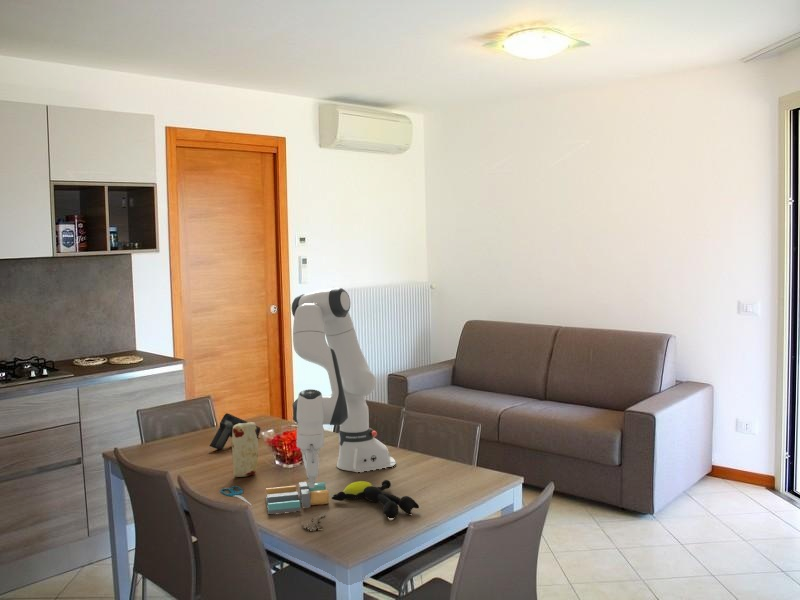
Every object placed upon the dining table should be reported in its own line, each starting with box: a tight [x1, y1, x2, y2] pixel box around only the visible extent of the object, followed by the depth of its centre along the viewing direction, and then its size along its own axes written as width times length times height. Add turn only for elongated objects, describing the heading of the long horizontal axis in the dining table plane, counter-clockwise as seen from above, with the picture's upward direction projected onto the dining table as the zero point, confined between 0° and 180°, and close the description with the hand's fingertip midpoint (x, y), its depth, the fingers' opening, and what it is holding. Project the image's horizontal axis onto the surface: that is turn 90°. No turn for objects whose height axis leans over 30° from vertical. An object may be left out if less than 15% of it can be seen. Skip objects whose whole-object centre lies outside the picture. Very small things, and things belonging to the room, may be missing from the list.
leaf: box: [299, 510, 326, 532], centre depth 216 cm, size 11×15×2 cm
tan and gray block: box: [300, 489, 330, 508], centre depth 231 cm, size 8×4×5 cm, turn 103°
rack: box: [265, 485, 301, 515], centre depth 231 cm, size 10×15×4 cm, turn 14°
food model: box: [231, 421, 259, 478], centre depth 261 cm, size 10×7×20 cm
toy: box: [331, 479, 420, 518], centre depth 231 cm, size 23×6×30 cm
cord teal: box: [298, 481, 327, 501], centre depth 238 cm, size 8×4×5 cm, turn 103°
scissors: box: [220, 485, 253, 506], centre depth 240 cm, size 7×1×20 cm
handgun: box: [209, 412, 261, 451], centre depth 305 cm, size 2×24×15 cm, turn 148°
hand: (310, 482), depth 231 cm, fingers open, 8 cm apart
